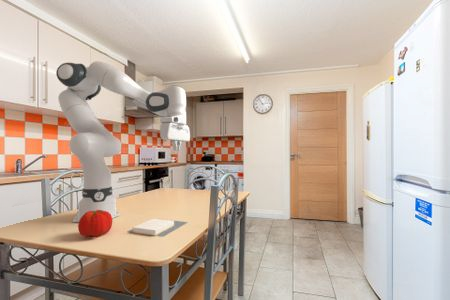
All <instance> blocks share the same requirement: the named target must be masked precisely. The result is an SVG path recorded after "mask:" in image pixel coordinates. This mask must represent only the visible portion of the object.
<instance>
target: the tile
mask: <svg viewBox="0 0 450 300" xmlns="http://www.w3.org/2000/svg"><path fill="white" fill-rule="evenodd" d="M174 221H175V220H173V221H171V219H164V220H162V218H161V219H160V218H152V219H149V220H147V221H144V222H142V223H140V224H137V225H135V226H132V229H133V233H132V234H140V235H147V236H154V237H157V236H156V235H158V234H160V233H162V232H164V231H166V230H167V229H169V228H171V227H173V226H174Z"/></svg>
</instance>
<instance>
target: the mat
mask: <svg viewBox="0 0 450 300" xmlns="http://www.w3.org/2000/svg"><path fill="white" fill-rule="evenodd" d="M161 219H162V218H161ZM162 220H165V219H164V218H163V219H162ZM170 220H171V219H170ZM171 221H174V226H173V227H171V228H169V229H167V230H166V231H164V232H162V233H160V234H158V235H156V236H155V237H160V238H163V237H166V236H167V235H168V234H170V233H172V232H174V231H175V230H178V229H180V227H182V226H184V225H186V224H187V223H189V222H188V221H181V220H180V221H179V220H171ZM126 232H127V233H132V234H134V233H133V228H132V229H129V230H128V231H126Z"/></svg>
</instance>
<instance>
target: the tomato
mask: <svg viewBox="0 0 450 300" xmlns="http://www.w3.org/2000/svg"><path fill="white" fill-rule="evenodd" d="M112 227H113V218H112V216H111V214H110V213H109V212H107V211H102V210H96V211H88V212H86V213H85V214H84V215H83V216H82V217H81V219H80V220H79V222H78V225H77V228H78V229H77V230H78V232H79V234H80V235H81V236H83V237H84V238H91V237H94V238H95V237H96V238H98V237H100V236H103V235H106V234H107V233H108V232H110V230H111V229H112Z"/></svg>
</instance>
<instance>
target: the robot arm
mask: <svg viewBox="0 0 450 300" xmlns="http://www.w3.org/2000/svg"><path fill="white" fill-rule="evenodd" d="M55 74H56V78H57V79H58V81H59V82H60V83H61V84H62V85H64V86H65V87H67V88H66V89H65V90H63V91H61V92H60V93H59V94H58V96H57V97H58V98H57V99H58V102H59V107H60V108H61V111H62V114H63V115H64V117H65V118H66V120H67V123H69V125H70V127H71V129H72V130H73V131H74V132H75V134H74V135H73V136H72V137H71V138H70V140H69V142H68V143H69V144H68V147H69V150H70V151H71V153H72V154H73V155H74V156H75V157H76V158H77V159H78V161H79V164H80V165H81V168H82V169H81V170H82V175H83V188H82V191H81V194H82V195H81V197H82V198H81V199H80V201H79V202H78V203H77V205H76V210H77V212H76V215H75V216H74V218H73V219H72V223H79V220H80V219H81V217H82V216H83V215H84V214H85V213H86V212H88V211H96V210H102V211H107V212H109V213H110V214H111V216H112V219H114V218H116V217H119V216H121V213H120V212H118V211H117V205H116V203H117V201H116V198H115V197H113V187H112V170H111V168H110V167H108V166H107V164H106V162H105V161H106V160H105V158H110V157H113V156H116V155H118V154H119V153H120V152H121V150H122V142H121V140H120V139H119V138H118V137H116V136H115V135H113V134H112V132H110V131H109V130H108V129H107V128H106V127H105V126H104V125H103V124H102V123H101V121H100V120H99V119H98V118H97V116H96V115H95V113H94V112H93V110H92V108H91V107H90V105H89V104H88V101H90V100H92V99H94V98H95V97H97V96H98V95H99V94H100V92H101V90H102V88H104V89H106V90H108V91H109V92H113V94H116V95H117V94H118V95H121V96H124V97H127V98H131V99H133V100H136V101H139V102H141V103H143V104H144V105H145V106H146V108H147V110H148V111H149V112H151V113H153V114H155V115H157V116H159V117H160V119H159V122H160V128H159V129H160V130H159V133H160V134H159V135H160V138H161V140H164V141H165V140H166V141H171V145H172V149H173V151H174V152H175V151H180V149H181V145H182V142H190V140H191V131H190V127H189V126H188V123H187V112H186V107H187V94H186V91H185V89H184V88H183V87H181V86H179V85H176V84H169V85H168V86H166V88H164V89H162V90H159V91H156V92H150V91H148V90H146V89H144V88H143V87H141V86H140V84H138V83H137V82H136V81H134V80H133V79H132V77H130V76H129V75H127V74H126V73H125V72H124V71H122V70H120V69H119V68H117V67H116V66H114V65H111V64H108V63H106V62H103V61H98V60H97V61H93V62H91V63H90V64H89V65H88V66H85V65H84V64H83V63H74V62H64V63H62V64H60V65H59V66H58V67H57V69H56V73H55Z"/></svg>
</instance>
